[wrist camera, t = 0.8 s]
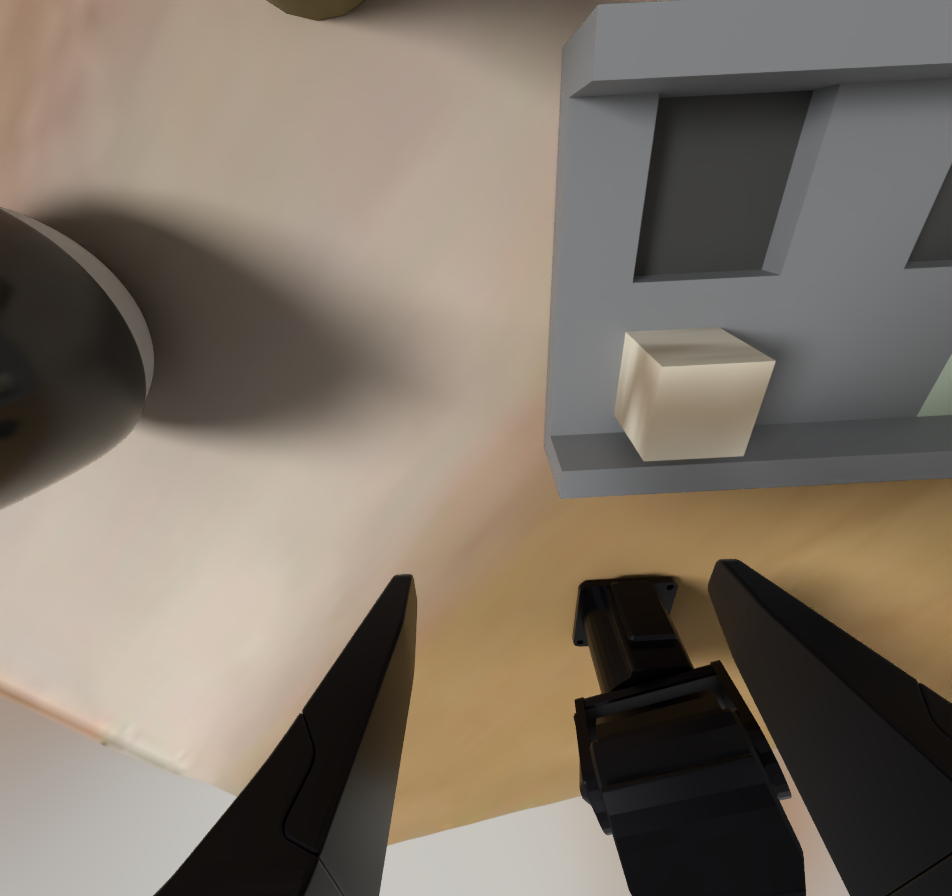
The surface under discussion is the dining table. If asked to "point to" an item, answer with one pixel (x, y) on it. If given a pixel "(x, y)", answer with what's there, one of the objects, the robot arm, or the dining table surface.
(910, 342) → the box
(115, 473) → the dining table surface
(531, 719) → the dining table surface
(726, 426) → the birch block
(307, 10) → the cork
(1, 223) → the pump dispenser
